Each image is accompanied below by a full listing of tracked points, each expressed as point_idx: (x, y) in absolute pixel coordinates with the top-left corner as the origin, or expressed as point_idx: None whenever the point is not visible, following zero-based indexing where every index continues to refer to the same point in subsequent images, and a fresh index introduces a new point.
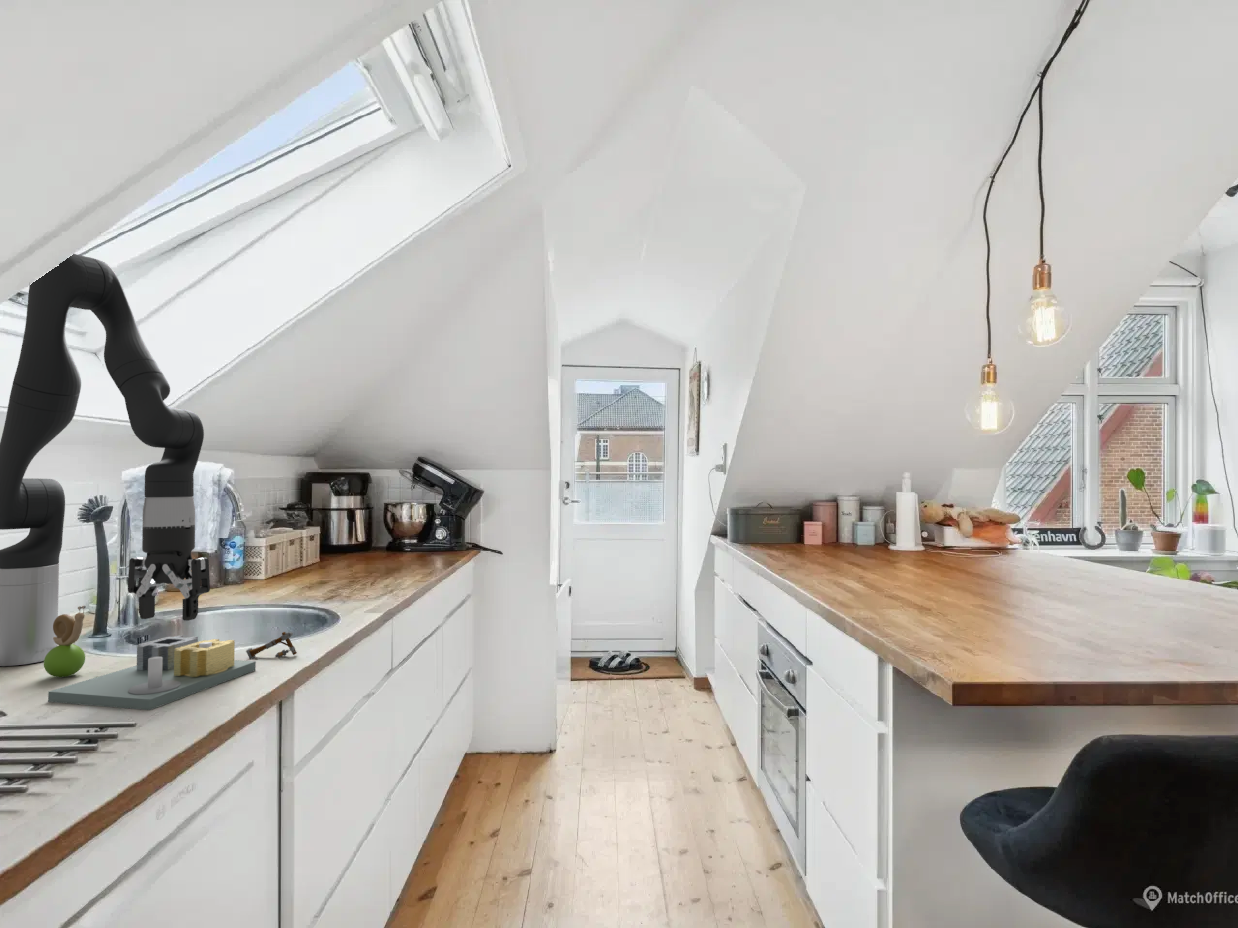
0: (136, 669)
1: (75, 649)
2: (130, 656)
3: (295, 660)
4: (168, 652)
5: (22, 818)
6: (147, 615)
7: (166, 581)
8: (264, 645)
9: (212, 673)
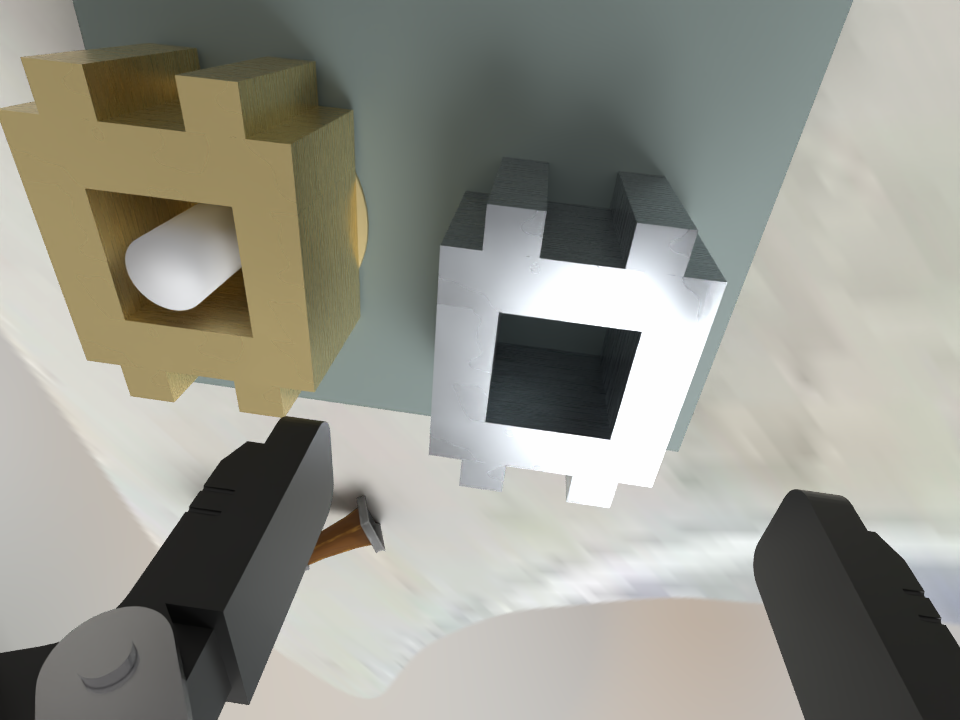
0: (682, 200)
1: None
2: (944, 529)
3: (172, 479)
4: (447, 230)
5: None
6: (789, 533)
7: None
8: None
9: None
